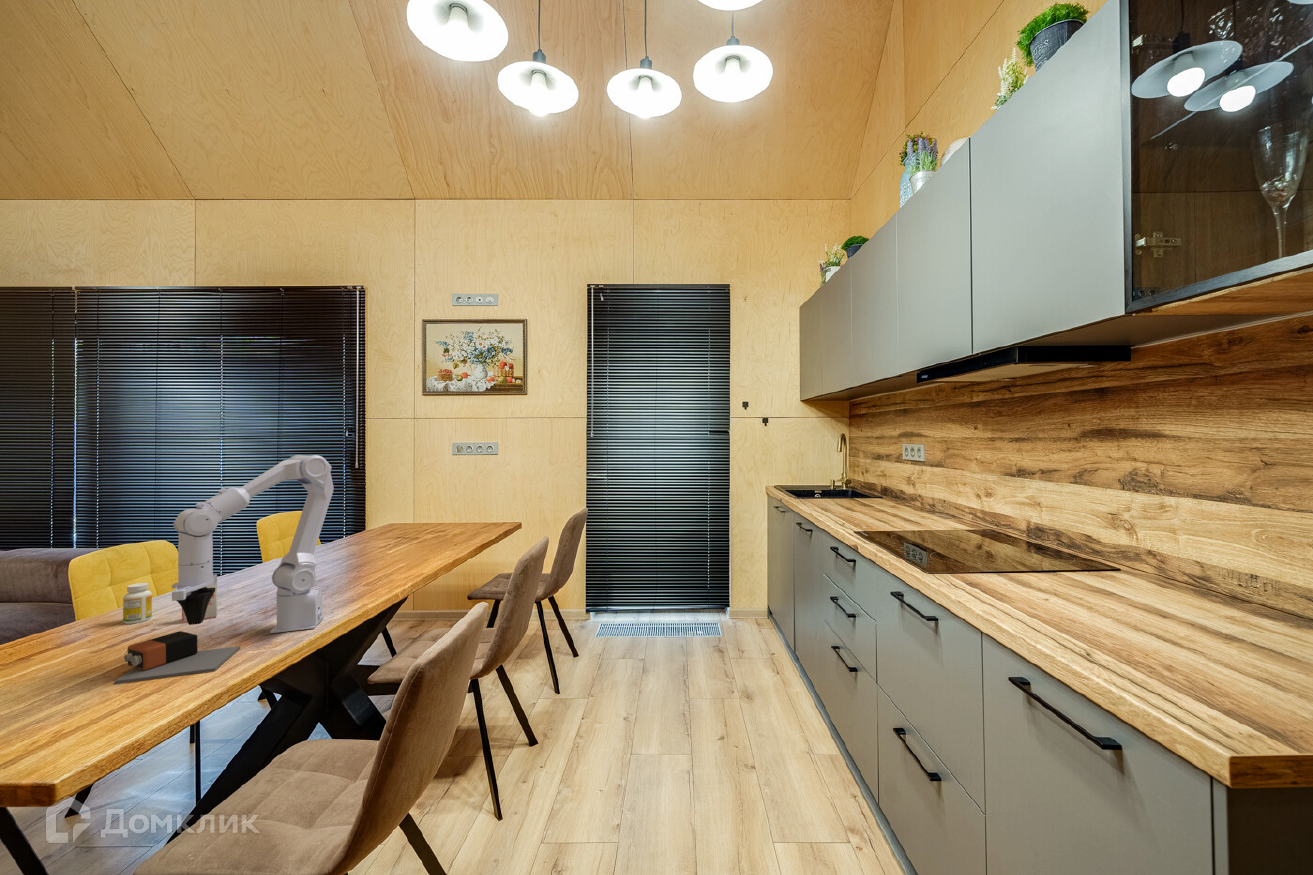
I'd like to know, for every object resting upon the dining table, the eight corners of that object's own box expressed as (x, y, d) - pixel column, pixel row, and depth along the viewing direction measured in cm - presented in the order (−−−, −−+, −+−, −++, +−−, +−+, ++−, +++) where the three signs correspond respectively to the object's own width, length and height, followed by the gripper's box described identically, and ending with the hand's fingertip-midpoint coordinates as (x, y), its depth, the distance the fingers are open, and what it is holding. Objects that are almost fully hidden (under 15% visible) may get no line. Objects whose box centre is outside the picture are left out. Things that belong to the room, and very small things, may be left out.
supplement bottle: (130, 625, 131) (130, 588, 131) (118, 623, 133) (118, 586, 133) (156, 618, 136) (156, 582, 136) (144, 616, 138) (144, 581, 138)
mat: (240, 648, 116) (240, 646, 116) (214, 671, 105) (214, 668, 105) (151, 659, 110) (151, 656, 110) (114, 684, 99) (114, 681, 99)
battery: (198, 653, 112) (138, 673, 102) (180, 649, 114) (120, 668, 105) (198, 634, 112) (138, 651, 102) (180, 630, 114) (120, 647, 105)
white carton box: (183, 619, 135) (183, 582, 135) (217, 614, 139) (217, 578, 139) (181, 623, 132) (181, 585, 132) (216, 617, 136) (215, 580, 136)
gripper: (190, 557, 118) (190, 615, 118) (153, 572, 105) (153, 637, 105) (227, 554, 121) (227, 611, 121) (195, 569, 107) (195, 633, 107)
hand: (195, 623), depth 113 cm, fingers closed
